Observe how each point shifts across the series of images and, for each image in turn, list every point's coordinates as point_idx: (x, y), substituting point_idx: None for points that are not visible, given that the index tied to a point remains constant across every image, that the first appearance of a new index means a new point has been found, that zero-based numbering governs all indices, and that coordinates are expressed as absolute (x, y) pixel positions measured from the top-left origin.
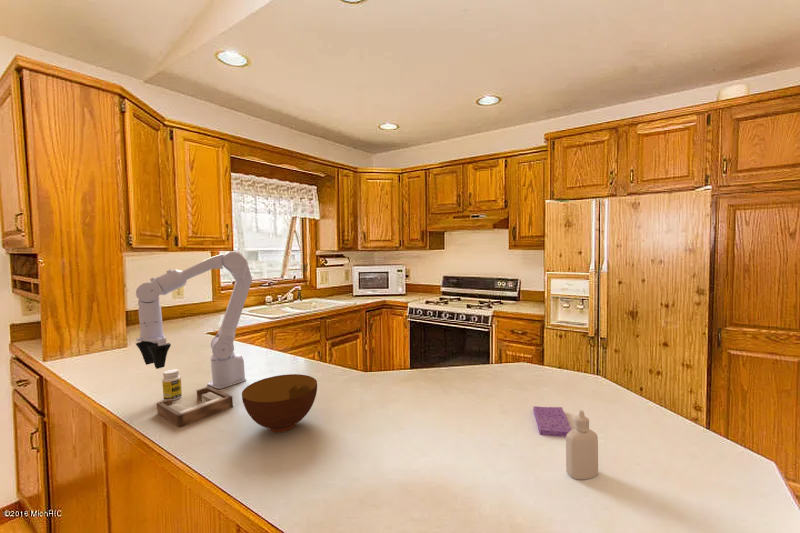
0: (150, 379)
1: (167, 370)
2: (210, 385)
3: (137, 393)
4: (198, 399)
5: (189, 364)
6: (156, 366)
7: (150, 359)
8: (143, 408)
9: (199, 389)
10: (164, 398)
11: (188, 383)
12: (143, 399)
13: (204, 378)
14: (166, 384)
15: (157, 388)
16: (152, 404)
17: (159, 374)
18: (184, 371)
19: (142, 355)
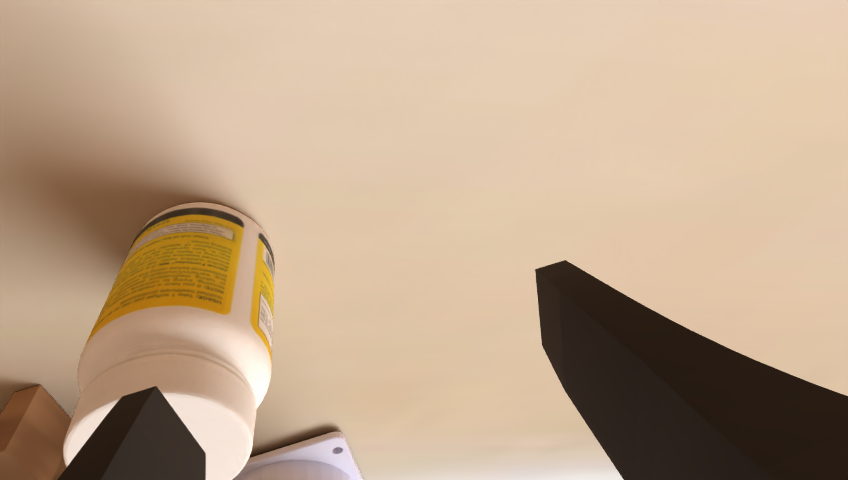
0: (808, 146)
1: (234, 421)
2: (290, 447)
3: (573, 31)
4: (13, 398)
5: (829, 350)
6: (93, 433)
7: (571, 361)
8: (79, 37)
9: (11, 465)
10: (165, 216)
11: (474, 343)
12: (361, 61)
13: (488, 412)
14: (101, 319)
15: (554, 175)
16: (153, 115)
17: (845, 203)
18: (735, 327)
19: (691, 336)
